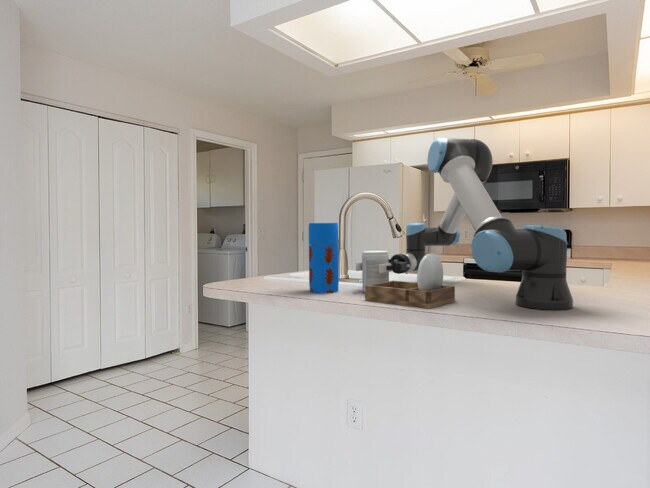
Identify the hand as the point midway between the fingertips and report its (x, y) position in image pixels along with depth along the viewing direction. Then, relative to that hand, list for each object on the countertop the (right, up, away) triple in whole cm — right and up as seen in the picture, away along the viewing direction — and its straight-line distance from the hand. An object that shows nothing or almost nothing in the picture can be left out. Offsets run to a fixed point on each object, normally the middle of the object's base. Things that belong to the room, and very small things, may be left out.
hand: (368, 267), depth 157 cm
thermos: (-16, -9, +7) cm, 19 cm away
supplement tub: (+3, -9, +4) cm, 10 cm away
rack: (+12, -10, -15) cm, 21 cm away
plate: (+17, -9, -20) cm, 28 cm away
